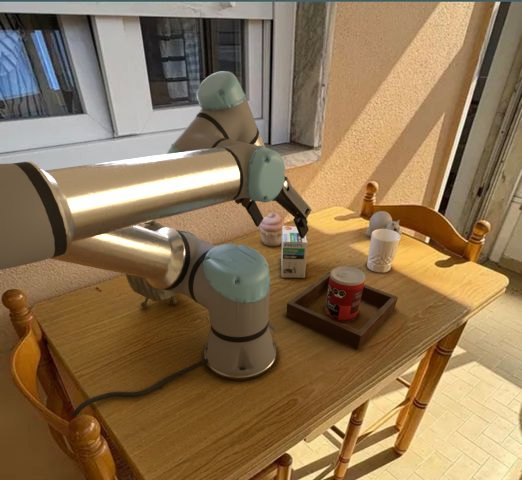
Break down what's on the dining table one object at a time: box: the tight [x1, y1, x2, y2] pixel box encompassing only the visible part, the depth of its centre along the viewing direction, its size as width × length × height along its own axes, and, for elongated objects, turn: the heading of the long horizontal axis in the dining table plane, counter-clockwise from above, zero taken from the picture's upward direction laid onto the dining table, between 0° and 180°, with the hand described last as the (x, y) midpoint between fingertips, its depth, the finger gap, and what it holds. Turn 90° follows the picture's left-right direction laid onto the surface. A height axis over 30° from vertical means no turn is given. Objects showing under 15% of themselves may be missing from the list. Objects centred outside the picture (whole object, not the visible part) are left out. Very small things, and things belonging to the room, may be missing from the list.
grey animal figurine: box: [365, 210, 403, 237], centre depth 123 cm, size 7×12×8 cm, turn 36°
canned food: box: [324, 266, 366, 323], centre depth 90 cm, size 8×8×11 cm
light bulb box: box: [280, 225, 309, 279], centre depth 107 cm, size 11×7×11 cm, turn 179°
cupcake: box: [257, 211, 285, 247], centre depth 120 cm, size 9×9×10 cm
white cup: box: [366, 229, 402, 274], centre depth 108 cm, size 8×8×10 cm
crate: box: [285, 271, 399, 351], centre depth 93 cm, size 19×19×4 cm
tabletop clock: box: [125, 220, 178, 309], centre depth 89 cm, size 14×9×25 cm, turn 145°
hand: (281, 228), depth 94 cm, fingers open, 13 cm apart
